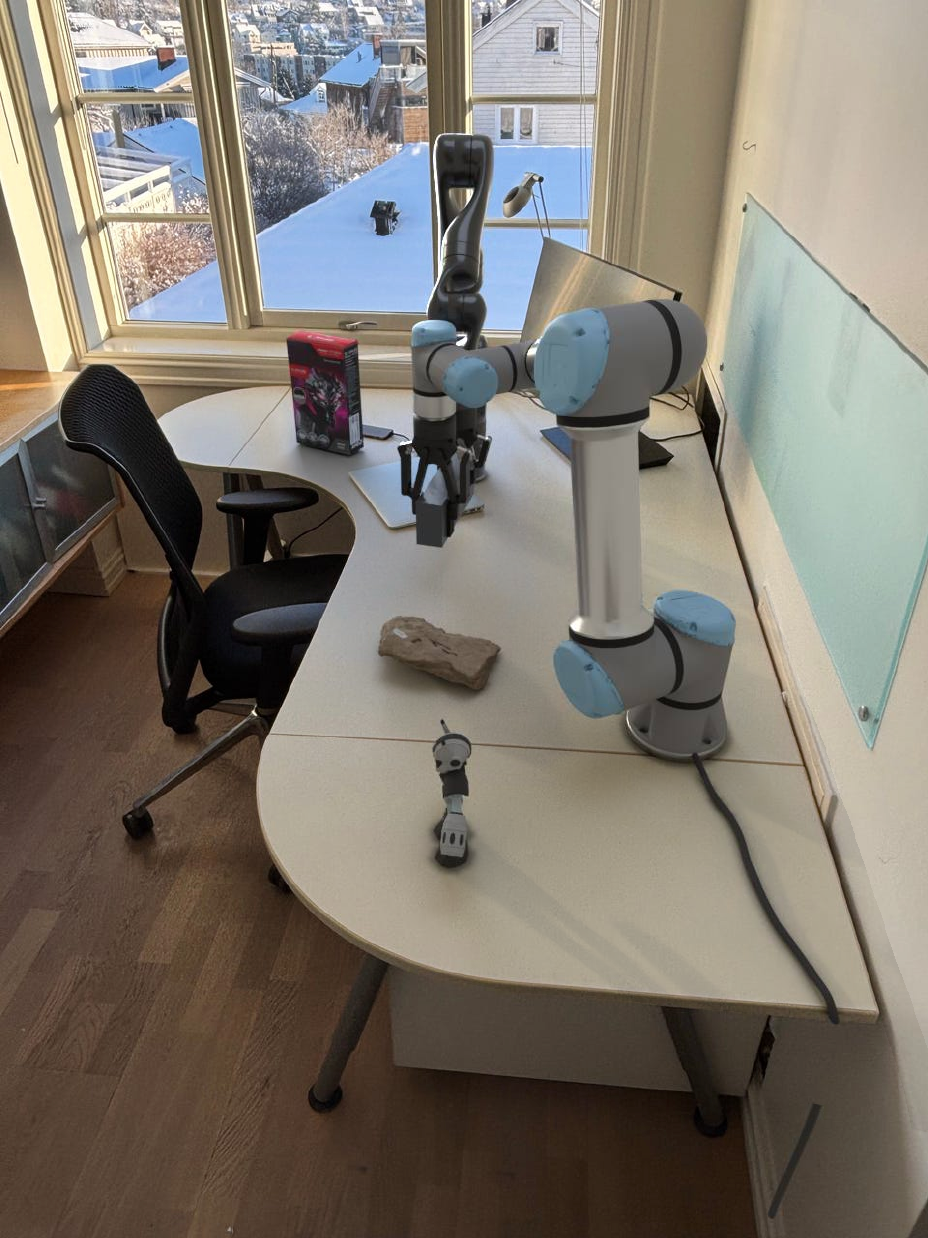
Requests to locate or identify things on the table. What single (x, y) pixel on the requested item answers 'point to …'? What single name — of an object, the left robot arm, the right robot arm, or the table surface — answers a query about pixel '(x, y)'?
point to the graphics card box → (326, 391)
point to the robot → (452, 796)
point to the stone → (438, 651)
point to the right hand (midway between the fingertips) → (435, 531)
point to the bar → (436, 508)
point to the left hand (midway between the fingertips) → (456, 482)
